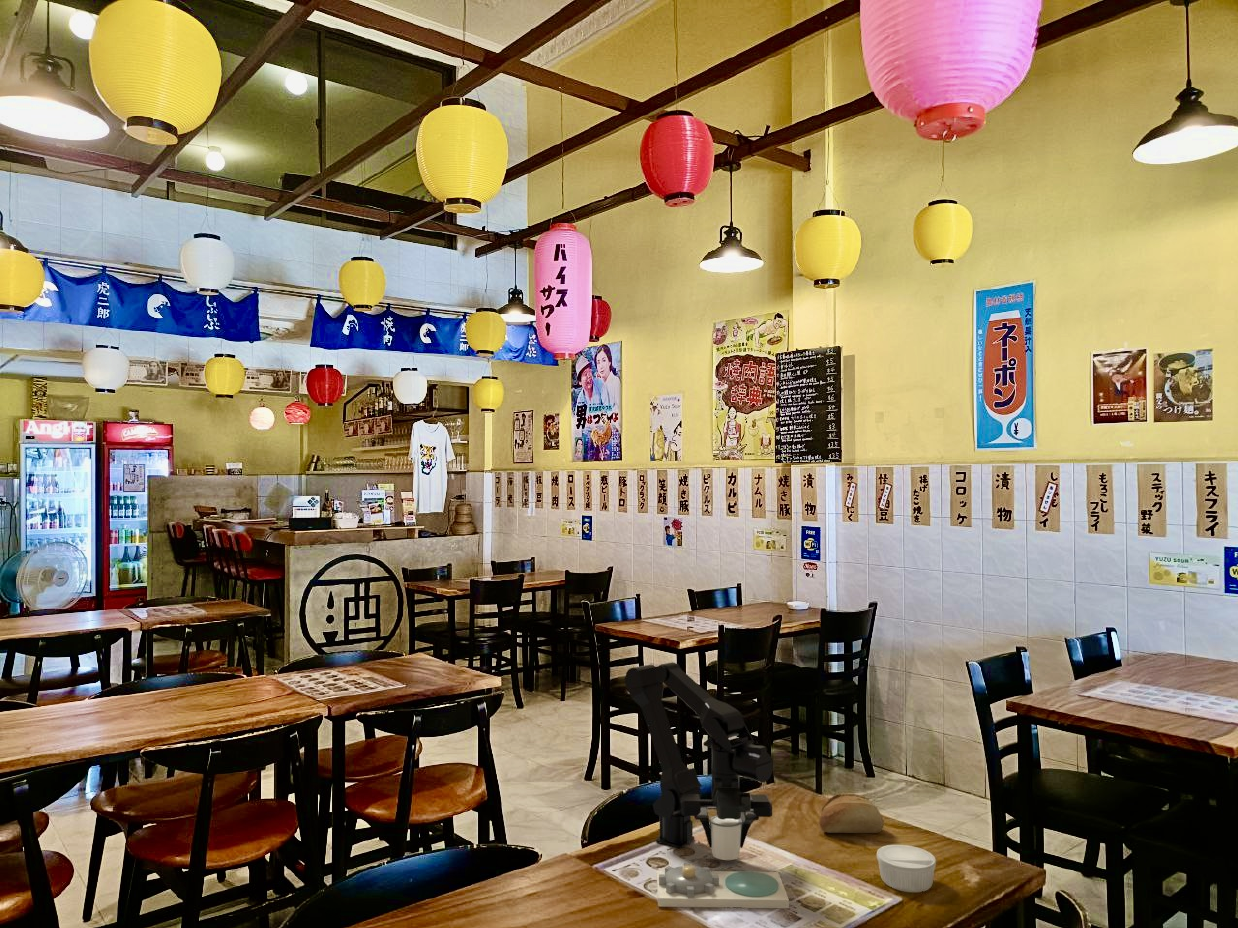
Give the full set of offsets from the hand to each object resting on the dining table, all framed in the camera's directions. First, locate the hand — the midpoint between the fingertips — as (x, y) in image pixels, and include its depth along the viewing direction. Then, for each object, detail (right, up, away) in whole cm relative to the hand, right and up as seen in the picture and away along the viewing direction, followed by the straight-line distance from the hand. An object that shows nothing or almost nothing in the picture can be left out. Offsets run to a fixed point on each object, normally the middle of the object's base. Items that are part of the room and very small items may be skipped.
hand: (725, 846), depth 174 cm
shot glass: (0, -2, 0) cm, 2 cm away
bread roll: (+31, -4, +16) cm, 35 cm away
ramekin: (+34, -3, -10) cm, 36 cm away
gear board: (-3, -2, -15) cm, 15 cm away
